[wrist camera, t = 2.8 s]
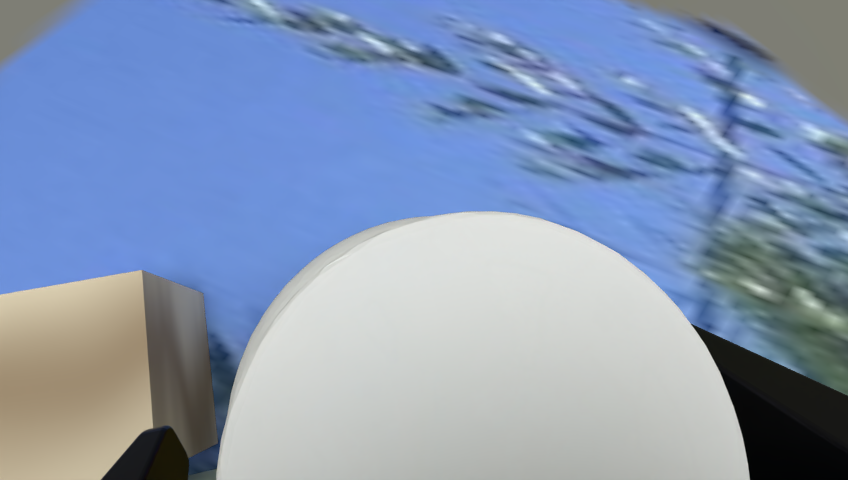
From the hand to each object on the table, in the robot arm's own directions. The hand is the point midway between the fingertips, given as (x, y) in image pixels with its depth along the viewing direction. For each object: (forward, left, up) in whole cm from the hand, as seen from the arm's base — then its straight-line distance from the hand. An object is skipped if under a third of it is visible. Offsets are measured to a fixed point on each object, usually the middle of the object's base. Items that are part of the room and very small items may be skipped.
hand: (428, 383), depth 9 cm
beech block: (-2, +9, -8) cm, 12 cm away
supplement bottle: (0, 0, -8) cm, 8 cm away
